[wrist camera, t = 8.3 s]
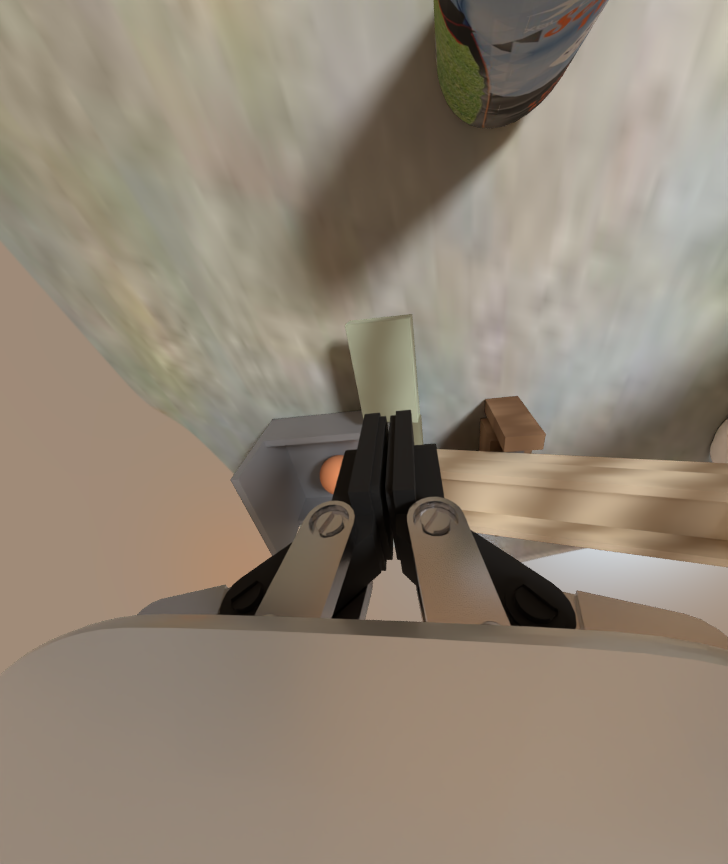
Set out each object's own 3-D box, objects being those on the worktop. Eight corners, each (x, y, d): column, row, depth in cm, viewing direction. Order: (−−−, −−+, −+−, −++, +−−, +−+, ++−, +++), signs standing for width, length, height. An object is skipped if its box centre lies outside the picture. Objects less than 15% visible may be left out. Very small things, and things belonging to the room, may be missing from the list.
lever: (942, 249, 11) (1125, 262, 8) (730, 529, 20) (778, 588, 17) (356, 316, 20) (332, 334, 17) (387, 493, 29) (375, 528, 25)
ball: (314, 476, 24) (315, 451, 27) (324, 507, 26) (325, 480, 29) (357, 468, 24) (354, 443, 27) (364, 499, 26) (360, 473, 29)
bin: (383, 408, 25) (377, 470, 18) (396, 494, 30) (395, 566, 24) (272, 419, 27) (230, 479, 20) (303, 498, 32) (278, 567, 26)
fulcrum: (521, 395, 23) (551, 434, 19) (509, 488, 28) (530, 535, 24) (481, 399, 24) (500, 437, 19) (477, 489, 29) (491, 536, 24)
